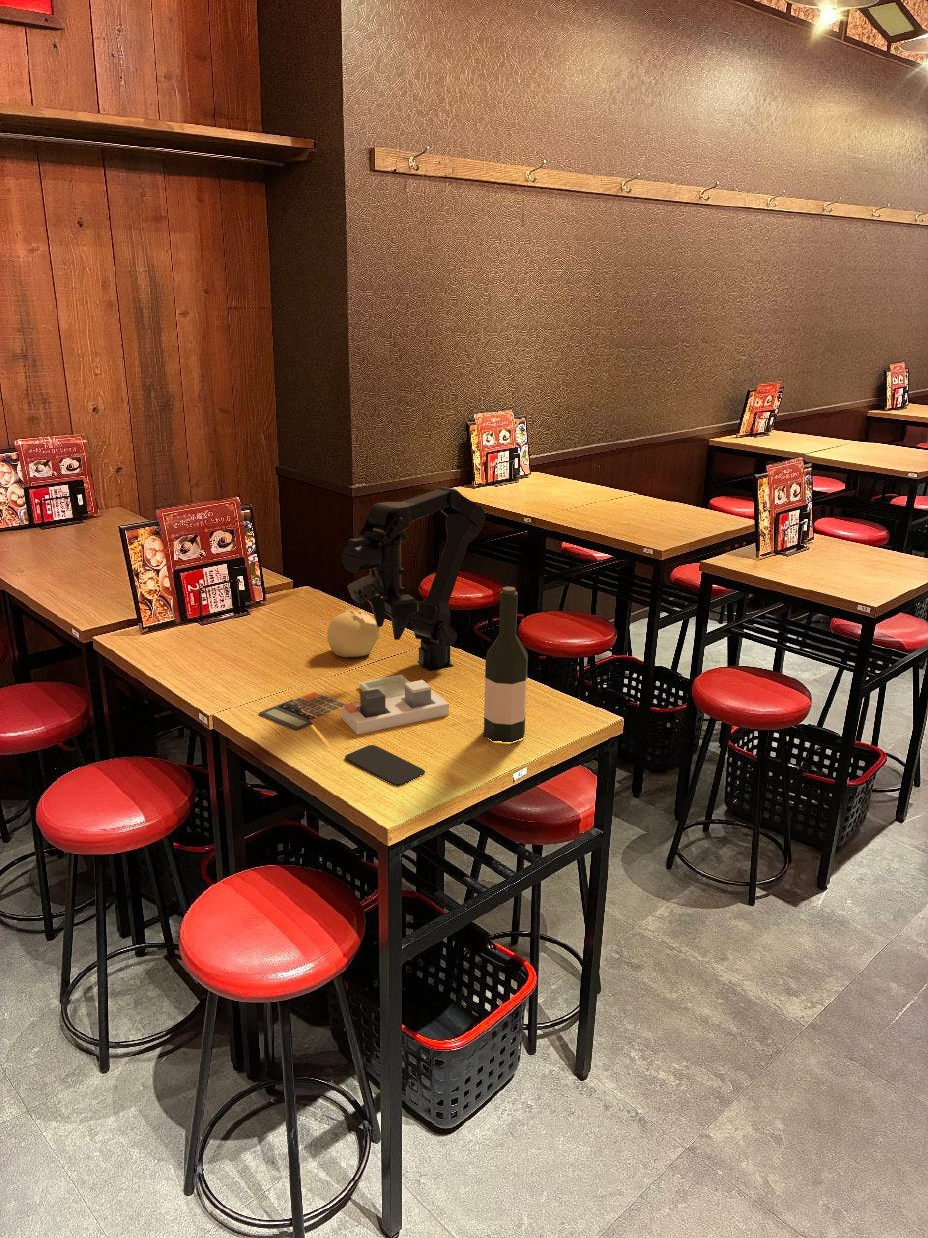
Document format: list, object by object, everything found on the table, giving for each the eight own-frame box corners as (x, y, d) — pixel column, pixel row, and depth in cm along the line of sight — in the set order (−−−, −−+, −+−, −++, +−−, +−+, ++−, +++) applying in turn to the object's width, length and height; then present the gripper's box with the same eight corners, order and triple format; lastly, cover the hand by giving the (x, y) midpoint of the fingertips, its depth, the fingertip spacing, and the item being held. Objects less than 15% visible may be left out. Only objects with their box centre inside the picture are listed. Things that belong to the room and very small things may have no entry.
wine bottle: (512, 748, 171) (517, 598, 162) (475, 737, 176) (478, 590, 166) (533, 732, 178) (539, 586, 168) (496, 721, 182) (500, 579, 172)
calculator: (351, 704, 188) (295, 728, 177) (351, 708, 188) (296, 732, 177) (314, 689, 195) (258, 711, 184) (314, 693, 195) (258, 716, 184)
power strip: (431, 702, 191) (431, 674, 189) (448, 717, 184) (449, 687, 182) (342, 720, 182) (341, 691, 179) (357, 736, 175) (356, 706, 173)
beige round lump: (387, 655, 216) (386, 613, 212) (342, 665, 209) (340, 622, 206) (364, 641, 225) (363, 600, 221) (320, 650, 218) (318, 608, 215)
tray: (401, 681, 201) (401, 674, 200) (420, 698, 193) (420, 690, 192) (359, 689, 196) (359, 682, 196) (377, 706, 188) (377, 699, 188)
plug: (422, 706, 187) (422, 679, 186) (430, 713, 184) (431, 686, 182) (404, 710, 186) (404, 683, 184) (413, 717, 182) (413, 690, 180)
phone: (397, 785, 157) (342, 756, 166) (397, 790, 157) (342, 760, 167) (427, 771, 162) (372, 743, 171) (427, 775, 162) (372, 747, 172)
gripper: (335, 557, 195) (337, 625, 200) (369, 579, 179) (370, 653, 184) (383, 551, 200) (384, 618, 205) (419, 573, 184) (419, 644, 189)
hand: (388, 633), depth 196 cm, fingers open, 9 cm apart
